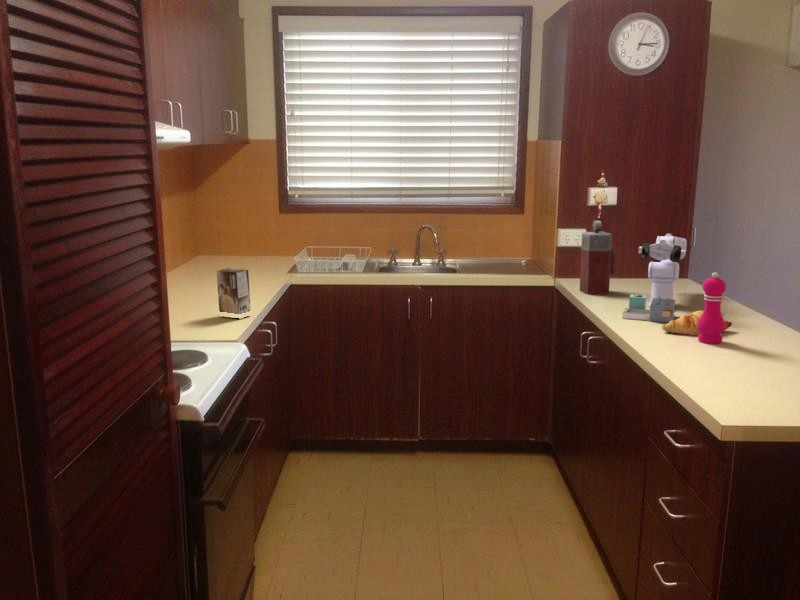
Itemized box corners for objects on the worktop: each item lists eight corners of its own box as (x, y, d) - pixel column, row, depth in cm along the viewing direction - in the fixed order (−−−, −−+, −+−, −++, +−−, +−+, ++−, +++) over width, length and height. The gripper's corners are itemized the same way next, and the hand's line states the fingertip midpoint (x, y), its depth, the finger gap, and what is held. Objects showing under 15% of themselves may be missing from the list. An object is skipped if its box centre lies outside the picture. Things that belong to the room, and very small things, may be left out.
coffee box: (252, 316, 241) (249, 269, 237) (239, 320, 235) (236, 272, 232) (231, 313, 245) (228, 267, 242) (218, 317, 239) (215, 270, 236)
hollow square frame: (625, 312, 241) (626, 294, 240) (674, 315, 235) (675, 297, 234) (621, 319, 230) (622, 301, 229) (672, 323, 224) (673, 304, 223)
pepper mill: (700, 337, 207) (705, 269, 203) (726, 340, 203) (732, 271, 199) (692, 342, 202) (698, 272, 198) (719, 346, 197) (725, 275, 193)
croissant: (665, 346, 211) (672, 326, 205) (653, 324, 218) (659, 304, 213) (734, 342, 212) (742, 322, 207) (719, 321, 220) (727, 301, 215)
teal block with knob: (630, 310, 245) (631, 293, 244) (645, 311, 243) (646, 294, 242) (628, 312, 240) (629, 296, 239) (644, 314, 239) (645, 297, 237)
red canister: (615, 294, 274) (618, 221, 268) (586, 294, 273) (589, 221, 267) (606, 289, 282) (610, 219, 277) (579, 290, 282) (582, 219, 276)
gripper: (642, 235, 243) (636, 242, 231) (687, 239, 237) (683, 246, 225) (640, 255, 245) (634, 263, 233) (685, 259, 239) (681, 267, 227)
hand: (658, 256), depth 229 cm, fingers open, 7 cm apart
